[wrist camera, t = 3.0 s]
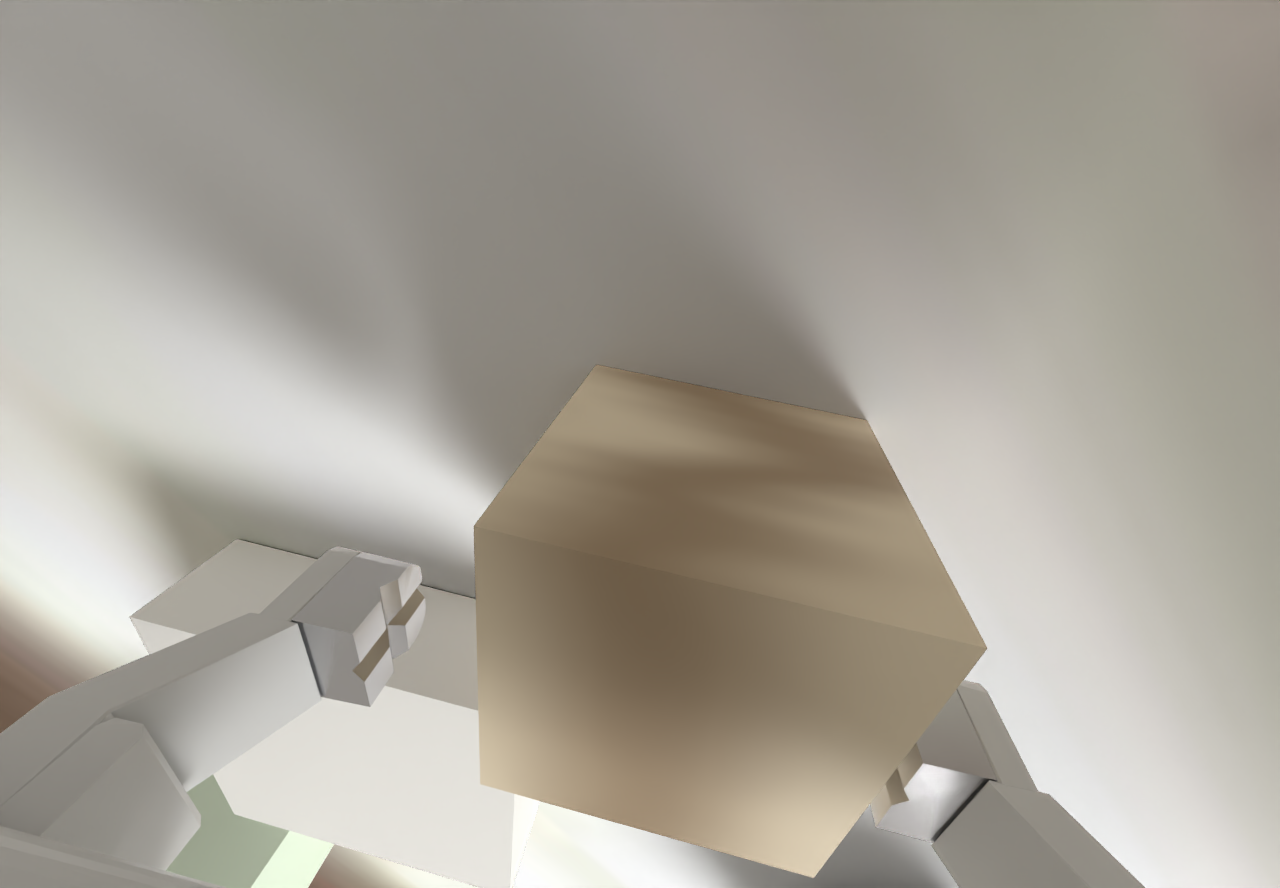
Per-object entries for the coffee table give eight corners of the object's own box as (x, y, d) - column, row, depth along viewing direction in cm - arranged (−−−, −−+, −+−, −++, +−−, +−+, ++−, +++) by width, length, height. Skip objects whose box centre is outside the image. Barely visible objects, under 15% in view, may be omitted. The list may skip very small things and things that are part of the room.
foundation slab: (558, 619, 14) (517, 721, 11) (541, 797, 19) (510, 896, 16) (236, 538, 15) (129, 616, 12) (300, 730, 20) (234, 814, 17)
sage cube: (339, 758, 21) (245, 895, 17) (354, 811, 23) (274, 942, 19) (240, 730, 21) (126, 857, 17) (264, 785, 23) (169, 908, 19)
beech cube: (866, 418, 10) (987, 648, 5) (784, 610, 12) (814, 878, 8) (597, 363, 10) (473, 526, 5) (575, 560, 13) (480, 784, 8)
